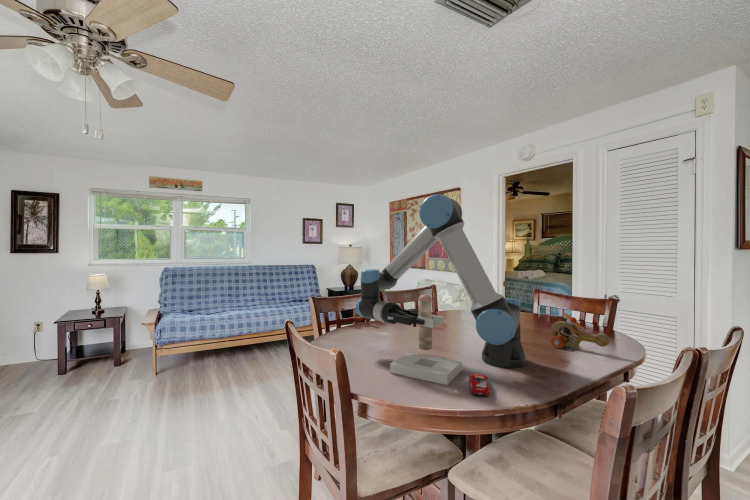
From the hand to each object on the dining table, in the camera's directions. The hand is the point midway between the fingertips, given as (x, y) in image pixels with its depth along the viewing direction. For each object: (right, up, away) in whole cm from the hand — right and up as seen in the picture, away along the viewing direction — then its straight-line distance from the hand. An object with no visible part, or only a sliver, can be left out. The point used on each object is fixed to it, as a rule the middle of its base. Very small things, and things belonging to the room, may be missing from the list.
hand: (438, 322), depth 110 cm
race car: (+10, -18, -9) cm, 23 cm away
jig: (-3, -17, +4) cm, 18 cm away
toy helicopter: (+60, -17, +25) cm, 67 cm away
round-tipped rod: (-4, -9, +4) cm, 11 cm away
